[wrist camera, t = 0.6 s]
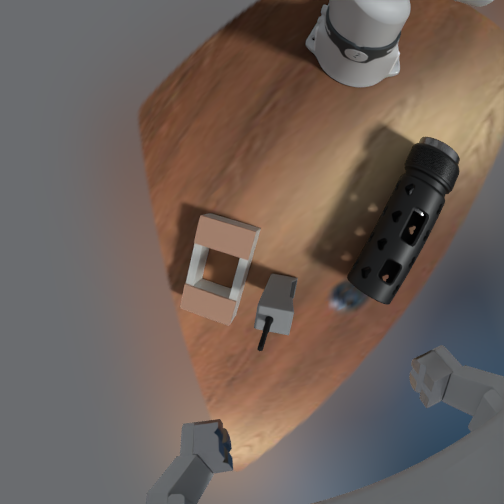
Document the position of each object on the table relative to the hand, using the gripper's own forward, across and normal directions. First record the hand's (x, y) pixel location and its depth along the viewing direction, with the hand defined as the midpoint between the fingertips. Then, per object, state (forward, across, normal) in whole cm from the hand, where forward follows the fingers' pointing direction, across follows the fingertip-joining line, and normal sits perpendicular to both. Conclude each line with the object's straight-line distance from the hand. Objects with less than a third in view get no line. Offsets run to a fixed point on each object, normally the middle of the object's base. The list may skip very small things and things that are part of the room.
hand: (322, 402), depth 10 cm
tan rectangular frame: (+46, +7, +12) cm, 48 cm away
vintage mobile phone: (+42, -3, +18) cm, 46 cm away
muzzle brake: (+39, -27, +9) cm, 48 cm away
